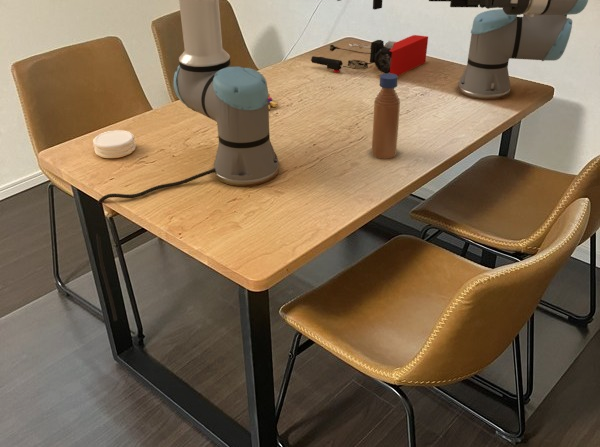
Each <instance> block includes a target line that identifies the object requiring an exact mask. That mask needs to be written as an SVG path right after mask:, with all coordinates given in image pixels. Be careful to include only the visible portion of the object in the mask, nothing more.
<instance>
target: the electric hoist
mask: <svg viewBox="0 0 600 447" xmlns="http://www.w3.org/2000/svg"><path fill="white" fill-rule="evenodd" d="M428 43H429V36H427V35H420V34H419V35H417V34H413V35H410V36H407V37H405V38H403V39H400V40H399V41H394V40H388V41H387V42H385V43H384V40H382V39H375V40H374V41H371V43H370V45H365V44H362V43H359V44H357V43H348V46H350V47H358V48H359V49H363V48H365V49H368V50H370V52H365V54H366V55H367V54H368V55H369V62H367V61H365V60H358V59H350V60H347V65H343V60H342V59H341V60H340V59H335V58H329V57H324V56H315V55H313V56H311V59H310V61H311V63H312V64H317V65H322V66H326V69H329V70H333V72H334V73H340V70H341V69H342V68H348V69H352V70H360V69H363V70H366V69H368V68H369V66H368V65H371V64H374V66H375V67H376V68H377V69H378V71H379V72H381V73H382V74H385V73H392V74H396V75H397V76H398V77H399V76H401V75H403V74H405V73H407V72H408V71H411V70H414V69H415V68H417V67H419V66H421V65H423V64H425V63H426V61H427V52H428V45H429V44H428ZM335 50H343V51H348V52H355V53H360V54H364V52H362V51H357V50H351V49H347V48H340V47H338V46H335V45H334V44H330V45H329V51H330V52H334V51H335Z"/></svg>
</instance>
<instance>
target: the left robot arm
mask: <svg viewBox="0 0 600 447" xmlns="http://www.w3.org/2000/svg"><path fill="white" fill-rule="evenodd" d="M336 1H337V2H340V1H341V0H336ZM178 3H179V12H180V20H181V30H182V31H181V32H182V38H183V47H184V51H183V52H182V53H181V54H180V56H179V57H178V62H179V63H178V64H179V65H178V66H177V69H176V70H175V72H174V73H173V74H174V75H173V90H174V92H175V95H176V97H177V98H178V100H179V101H180V102H181V103H182V104H183V105H185V106H186V107H187V108H188V109H190V110H191V111H193V112H196V113H199V114H200V115H202V116H204V117H206V118H209V119H210V120H212V121H215V122H216V126H217V135H218V145H217V149H216V153H215V159H214V162H213V167H212V169H209V170H205V171H203V172H200V173H197V174H195V175H192V176H190V177H187V178H185V179H182V180H179V181H175V182H169V183H164V184H163V183H162V184H158V185H155V186H152V187H150V188H147V189H145V190H143V191H140V192H136V193H132V194H124V193H107V194H105V195H103V196H102V197H100V198H99V199H98V201H97V203H98V204H102V203H103V202H104V201H105V200H107V199H111V198H118V199H135V198H140V197H142V196H145V195H147V194H150V193H152V192H155V191H158V190H162V189H167V188H171V187H177V186H181V185H184V184H187V183H190V182H192V181H195V180H197V179H199V178H202V177H205V176H208V175H211V174H213V176H214V177H215V179H217V181H219V182H220V183H223V184H225V185H228V186H229V185H230V186H234V187H251V186H252V187H253V186H257V185H261V184H265V183H267V182H269V181H271V180H273V179H274V178H275V177H276V176H277V175H278V174H279V171H280V166H279V164H280V163H279V160H278V156H277V153H276V151H275V149H274V146H273V144H272V142H271V138H270V136H271V135H270V134H271V133H270V109H269V104H268V97H269V94H270V93H269V89H268V83H267V79H266V77H265V76H264V75H263V74H262V73H261V72H260V71H258V70H256V69H253V68H250V67H242V66H231V55H230V54H229V53H228V52H227V51H226V50H225V49H224V48H223V37H222V26H221V14H220V13H221V11H220V0H178ZM382 8H383V0H372V10H374V11H375V10H380V9H382ZM95 234H96V246H97V247H96V248H97V252H98V254H97V255H98V259H99V260H98V261H99V265H100V269H101V270H100V271H101V274H102V276H103V281H104V285H105V288H106V292H107V296H108V301H109V304H110V308H111V313H112V317H113V322H117V321H118V316H117V312H116V305H115V301H114V298H113V293H112V290H111V287H110V282H109V280H108V275H107V271H106V266H105V262H104V256H103V250H102V241H101V236H100V235H99V234H98V233H97V232H96V233H95Z"/></svg>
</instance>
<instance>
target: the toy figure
mask: <svg viewBox="0 0 600 447" xmlns="http://www.w3.org/2000/svg"><path fill="white" fill-rule="evenodd" d="M268 104H269V110H270V109H271V108H272V107H273V108H276V107H278V102H275V101H273V98H272V97H271V95H270V93H269V97H268Z"/></svg>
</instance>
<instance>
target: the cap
mask: <svg viewBox="0 0 600 447" xmlns="http://www.w3.org/2000/svg"><path fill="white" fill-rule="evenodd" d="M398 80H399V76H397V75H396V74H392V73H381V74H380V75H379V87H380V88H381V89H382V88H388V89H391V88H394V89H396V88H398Z"/></svg>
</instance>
